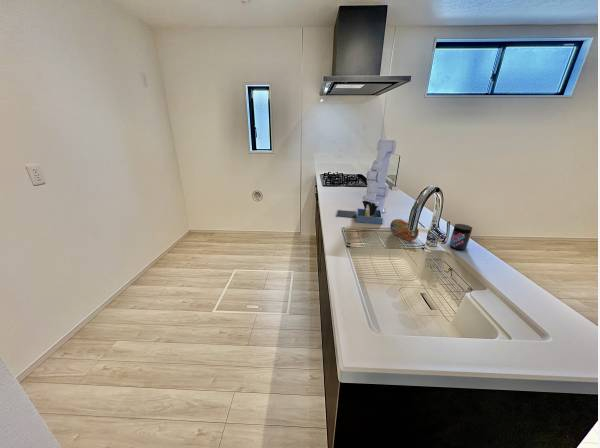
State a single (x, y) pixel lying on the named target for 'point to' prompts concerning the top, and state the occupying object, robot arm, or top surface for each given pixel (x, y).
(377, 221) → the crate
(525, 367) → the top surface
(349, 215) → the mat
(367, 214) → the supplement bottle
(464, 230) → the supplement container
